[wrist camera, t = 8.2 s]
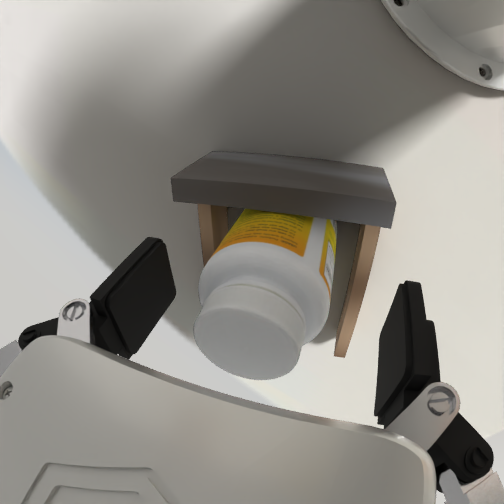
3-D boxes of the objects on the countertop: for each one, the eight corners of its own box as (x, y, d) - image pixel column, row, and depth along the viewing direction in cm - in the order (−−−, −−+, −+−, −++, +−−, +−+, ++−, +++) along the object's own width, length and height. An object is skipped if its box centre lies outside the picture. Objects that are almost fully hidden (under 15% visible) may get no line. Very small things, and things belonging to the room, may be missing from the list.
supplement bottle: (231, 211, 20) (147, 321, 11) (298, 158, 17) (243, 256, 8) (287, 272, 21) (242, 401, 13) (355, 231, 18) (352, 370, 10)
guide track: (346, 332, 22) (341, 385, 18) (223, 310, 25) (199, 356, 21) (383, 168, 15) (396, 202, 11) (212, 151, 18) (170, 178, 14)
